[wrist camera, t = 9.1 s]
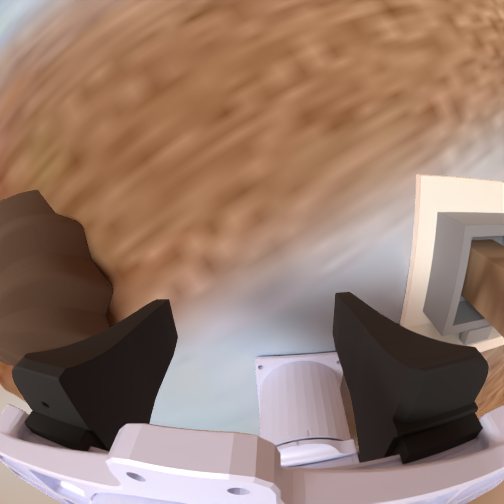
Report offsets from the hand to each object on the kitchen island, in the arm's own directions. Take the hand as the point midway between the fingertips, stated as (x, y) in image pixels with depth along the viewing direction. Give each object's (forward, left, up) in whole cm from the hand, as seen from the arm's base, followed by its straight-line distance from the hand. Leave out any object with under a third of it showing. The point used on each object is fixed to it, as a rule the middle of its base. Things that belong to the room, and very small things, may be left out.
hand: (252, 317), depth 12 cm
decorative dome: (-3, +23, -10) cm, 25 cm away
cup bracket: (-2, -18, -9) cm, 20 cm away
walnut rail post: (-2, -18, -8) cm, 20 cm away
